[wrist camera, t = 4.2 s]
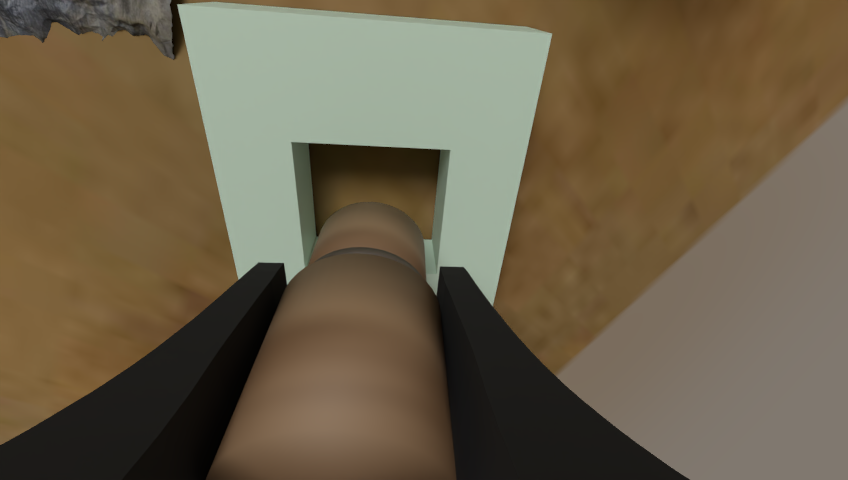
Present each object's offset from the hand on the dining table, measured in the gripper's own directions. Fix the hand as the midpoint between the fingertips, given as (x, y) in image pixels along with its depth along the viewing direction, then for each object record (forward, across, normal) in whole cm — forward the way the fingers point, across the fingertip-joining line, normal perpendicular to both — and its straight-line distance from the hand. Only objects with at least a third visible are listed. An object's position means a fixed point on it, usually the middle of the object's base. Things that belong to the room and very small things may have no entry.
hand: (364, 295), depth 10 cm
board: (+7, 0, 0) cm, 7 cm away
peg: (+2, 0, 0) cm, 2 cm away
